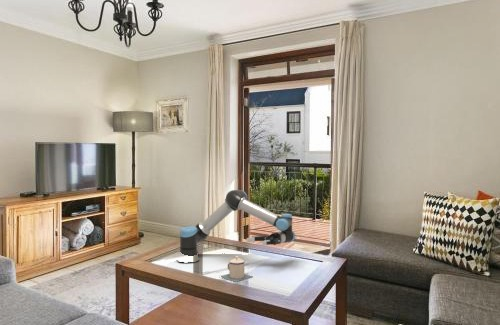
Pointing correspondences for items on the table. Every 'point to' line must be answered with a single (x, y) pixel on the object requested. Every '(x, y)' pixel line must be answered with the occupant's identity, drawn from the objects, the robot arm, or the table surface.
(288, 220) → the robot arm
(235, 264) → the teacup with lid
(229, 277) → the mat
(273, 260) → the table surface
